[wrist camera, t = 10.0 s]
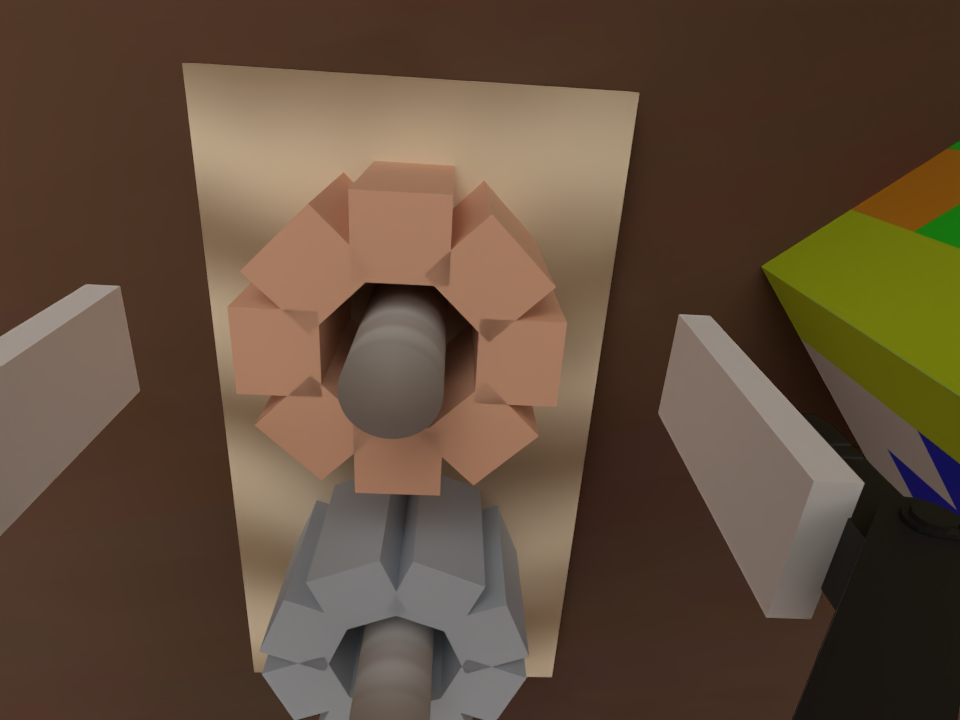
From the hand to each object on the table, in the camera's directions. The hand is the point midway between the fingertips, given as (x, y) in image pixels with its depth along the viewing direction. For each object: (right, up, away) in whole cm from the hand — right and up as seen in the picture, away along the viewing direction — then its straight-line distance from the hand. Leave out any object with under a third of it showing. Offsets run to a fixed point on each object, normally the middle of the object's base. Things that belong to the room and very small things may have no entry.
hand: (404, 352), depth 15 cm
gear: (-1, -8, +10) cm, 13 cm away
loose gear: (0, +2, +6) cm, 6 cm away
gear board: (-1, -3, +9) cm, 9 cm away
